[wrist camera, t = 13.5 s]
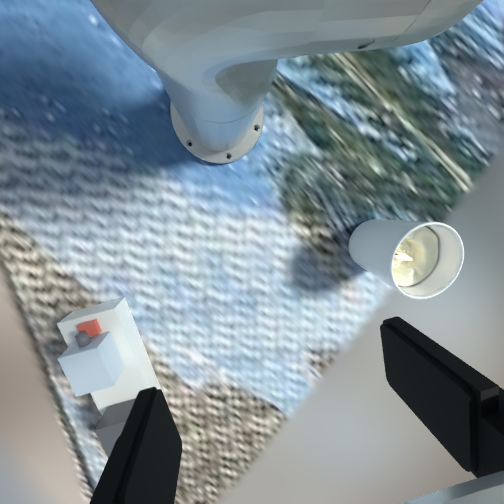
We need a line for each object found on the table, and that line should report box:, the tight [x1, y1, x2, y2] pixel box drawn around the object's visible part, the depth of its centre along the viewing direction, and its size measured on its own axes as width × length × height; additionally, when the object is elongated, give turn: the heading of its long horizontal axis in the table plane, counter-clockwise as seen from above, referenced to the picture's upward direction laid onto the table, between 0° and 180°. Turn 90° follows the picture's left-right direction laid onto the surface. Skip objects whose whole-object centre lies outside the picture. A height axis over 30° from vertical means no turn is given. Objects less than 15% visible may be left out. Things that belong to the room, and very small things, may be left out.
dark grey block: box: [95, 399, 135, 458], centre depth 40 cm, size 8×5×8 cm, turn 13°
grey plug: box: [58, 331, 125, 397], centre depth 37 cm, size 8×5×8 cm, turn 13°
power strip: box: [57, 297, 161, 416], centre depth 40 cm, size 24×8×5 cm, turn 13°
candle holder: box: [349, 219, 464, 299], centre depth 37 cm, size 10×10×12 cm
